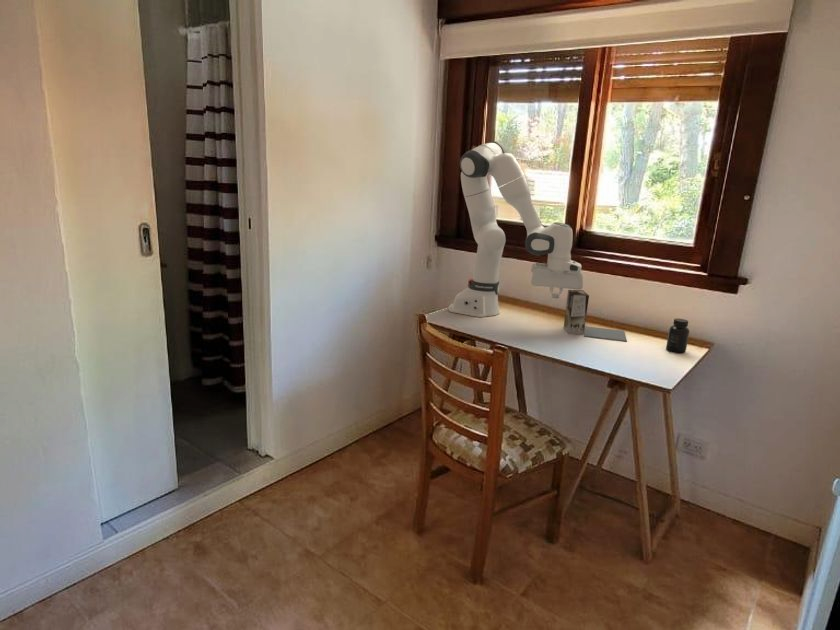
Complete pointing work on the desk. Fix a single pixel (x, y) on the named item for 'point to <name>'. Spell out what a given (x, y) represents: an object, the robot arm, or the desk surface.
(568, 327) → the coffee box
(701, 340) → the desk surface
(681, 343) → the supplement bottle
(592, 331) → the mat
